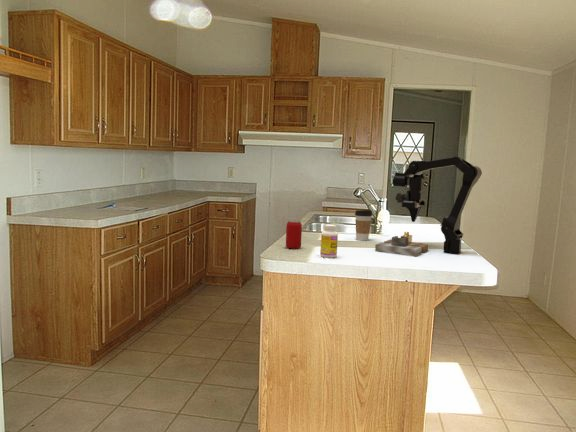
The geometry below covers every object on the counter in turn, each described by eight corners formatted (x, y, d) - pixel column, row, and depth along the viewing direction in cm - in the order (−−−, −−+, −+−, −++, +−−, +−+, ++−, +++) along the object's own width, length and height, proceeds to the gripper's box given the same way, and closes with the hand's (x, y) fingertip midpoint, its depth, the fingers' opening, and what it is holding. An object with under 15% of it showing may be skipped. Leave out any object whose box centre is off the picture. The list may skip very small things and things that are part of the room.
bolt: (411, 241, 224) (412, 231, 223) (406, 243, 218) (407, 233, 217) (405, 240, 225) (406, 231, 225) (400, 242, 219) (400, 232, 219)
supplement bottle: (330, 258, 194) (331, 226, 193) (317, 256, 198) (318, 224, 197) (340, 256, 199) (341, 225, 198) (326, 254, 204) (328, 223, 202)
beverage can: (301, 247, 219) (302, 220, 217) (300, 249, 212) (301, 222, 211) (286, 246, 219) (287, 219, 218) (284, 248, 213) (285, 221, 211)
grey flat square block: (428, 250, 221) (429, 236, 220) (415, 256, 205) (416, 241, 205) (389, 245, 230) (390, 232, 229) (375, 251, 215) (376, 236, 214)
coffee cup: (371, 241, 241) (373, 211, 239) (354, 241, 241) (356, 210, 239) (369, 239, 249) (371, 209, 247) (352, 238, 249) (354, 209, 247)
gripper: (405, 186, 238) (403, 218, 240) (391, 187, 222) (389, 221, 224) (427, 188, 232) (425, 220, 234) (415, 189, 216) (413, 224, 218)
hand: (413, 221), depth 228 cm, fingers closed
